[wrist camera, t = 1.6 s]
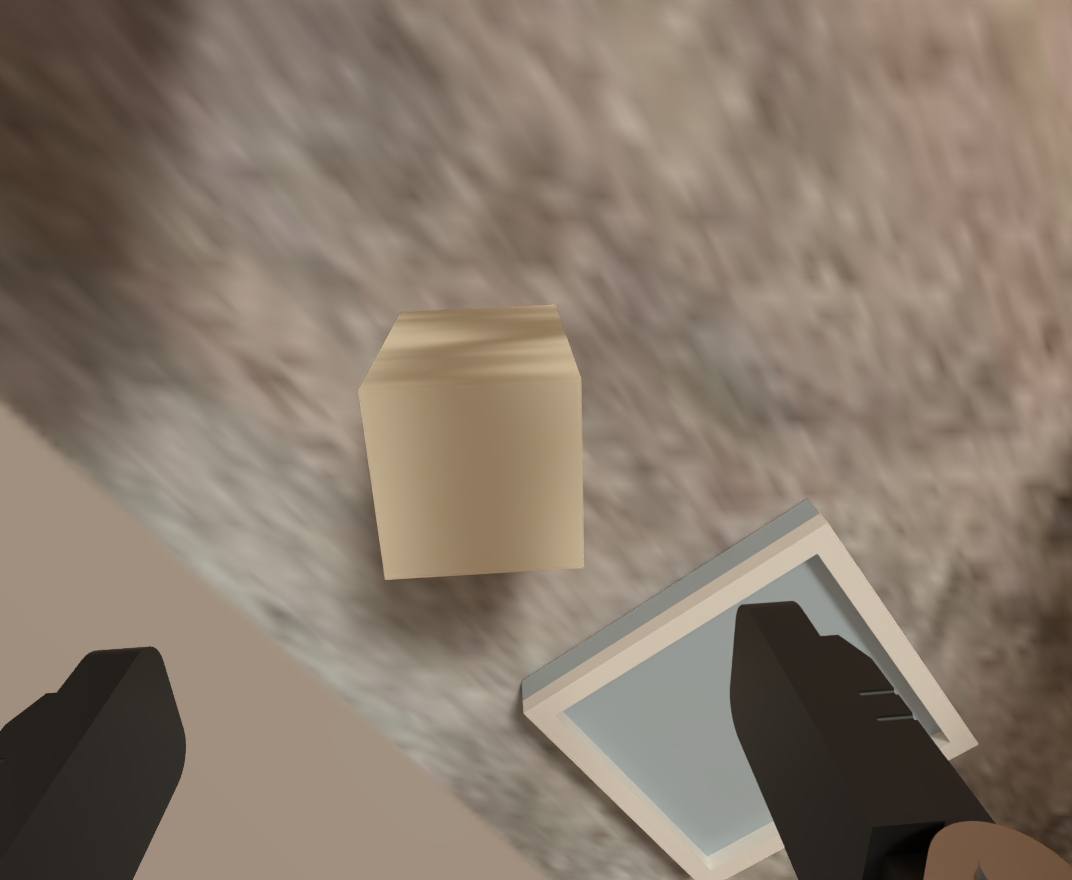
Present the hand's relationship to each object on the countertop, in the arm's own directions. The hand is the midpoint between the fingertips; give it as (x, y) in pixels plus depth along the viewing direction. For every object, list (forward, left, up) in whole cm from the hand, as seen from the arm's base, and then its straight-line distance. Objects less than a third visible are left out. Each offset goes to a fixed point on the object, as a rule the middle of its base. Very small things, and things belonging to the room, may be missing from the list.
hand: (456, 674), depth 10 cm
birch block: (0, 0, -13) cm, 13 cm away
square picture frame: (-9, +13, -13) cm, 20 cm away
